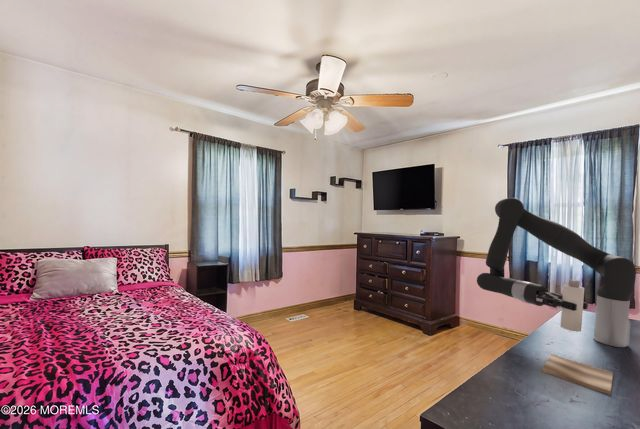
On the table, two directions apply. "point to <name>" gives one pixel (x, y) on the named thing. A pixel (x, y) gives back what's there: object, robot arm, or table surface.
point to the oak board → (579, 373)
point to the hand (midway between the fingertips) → (581, 306)
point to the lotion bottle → (575, 295)
